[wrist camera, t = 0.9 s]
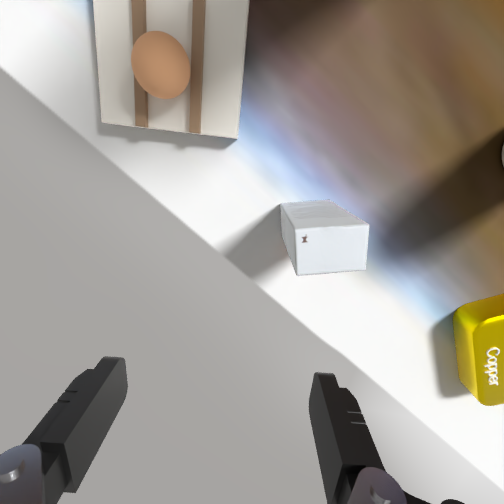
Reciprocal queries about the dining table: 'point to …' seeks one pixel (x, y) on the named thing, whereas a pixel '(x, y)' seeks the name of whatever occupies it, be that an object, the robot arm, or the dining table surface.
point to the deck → (199, 54)
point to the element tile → (481, 348)
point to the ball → (160, 64)
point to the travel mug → (503, 155)
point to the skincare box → (323, 237)
